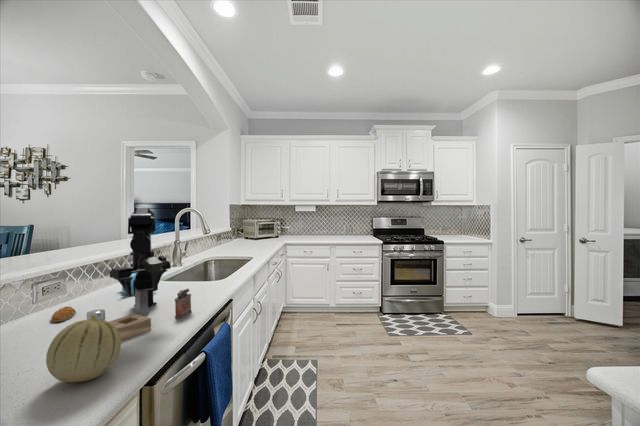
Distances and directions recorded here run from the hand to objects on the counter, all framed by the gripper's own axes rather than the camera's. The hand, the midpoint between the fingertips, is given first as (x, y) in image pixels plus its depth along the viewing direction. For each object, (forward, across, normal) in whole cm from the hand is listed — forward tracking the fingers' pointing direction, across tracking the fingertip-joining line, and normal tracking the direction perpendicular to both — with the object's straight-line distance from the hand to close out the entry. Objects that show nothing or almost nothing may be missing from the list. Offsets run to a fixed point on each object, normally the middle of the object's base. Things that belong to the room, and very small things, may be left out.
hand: (142, 292), depth 104 cm
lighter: (+13, +15, -2) cm, 20 cm away
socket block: (+13, -4, +2) cm, 14 cm away
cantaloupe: (+13, -25, -17) cm, 33 cm away
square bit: (+13, +8, +13) cm, 20 cm away
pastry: (+13, -7, +38) cm, 41 cm away
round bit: (+13, -7, +15) cm, 21 cm away
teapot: (+13, +28, +47) cm, 56 cm away
